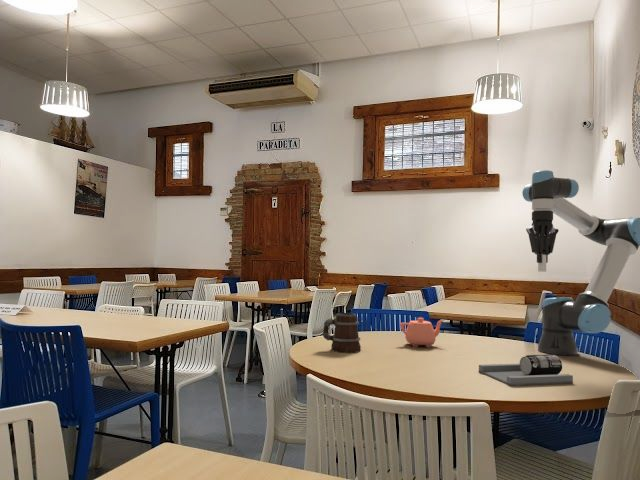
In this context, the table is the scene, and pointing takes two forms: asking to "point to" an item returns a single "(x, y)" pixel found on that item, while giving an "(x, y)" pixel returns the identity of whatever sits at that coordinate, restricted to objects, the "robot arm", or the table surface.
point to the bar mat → (521, 375)
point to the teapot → (420, 332)
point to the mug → (343, 333)
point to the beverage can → (540, 365)
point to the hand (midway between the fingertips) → (542, 271)
